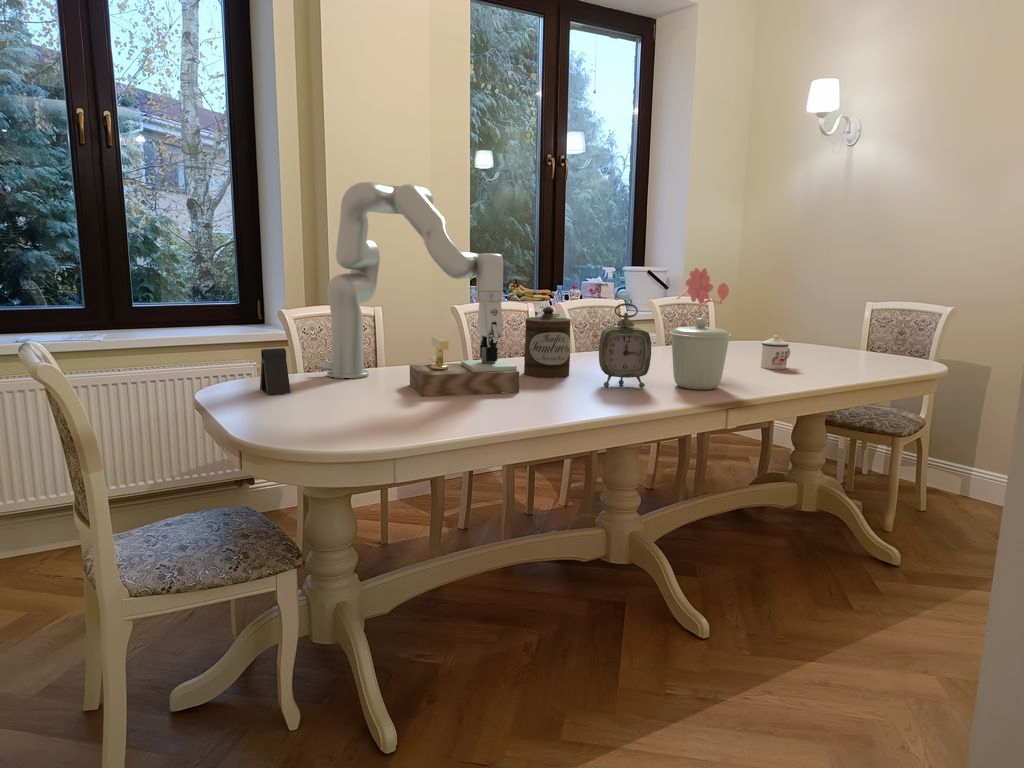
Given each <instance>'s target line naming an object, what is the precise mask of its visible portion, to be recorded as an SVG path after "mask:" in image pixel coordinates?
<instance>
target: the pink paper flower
mask: <svg viewBox="0 0 1024 768" xmlns="http://www.w3.org/2000/svg"><path fill="white" fill-rule="evenodd" d="M689 276H690V277H689V278H688V279H687V280H685V285H686V286H687V288H686V289H685V290H683V292H681V293H680V294H679V295H678V297H677V298H676V300H679V299H680V298H681V297H683V296H684V295H685V294H686V293H687V294H688V295H690V300H691V302H692V303H694V302H696V301H698V304H699V306H698V308H697V310H698V311H697V312H698V315H699V316H698V317H699V318H702V315H701V311H700V308H702V307H703V306H705V305H707V303H710V302H711V303H715V304H719V305H722V304H723V301H725V299H726V298H727V297H728V295H729V292H730V288H729V286H728V285H727V284H726V283H725V282H721V283H720V285H719V286H718V287H717V295H718V297H719V298H720V301H717V300H712V299H711V298H710V297H709V295H710V294H709V293H710V292H712V290H713V288H714V285H713V284H712V283H710V278H711V277H710V276H709V275H708V270H707V268H705V267H704V268H703V269H702V270H701V271H700V269H699V268H697V267H695V268H694V270H691V271H689ZM705 327H707V325H706V326H705Z"/></svg>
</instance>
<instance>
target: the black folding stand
mask: <svg viewBox="0 0 1024 768" xmlns="http://www.w3.org/2000/svg"><path fill="white" fill-rule="evenodd" d="M260 350H261V351H260V353H261V354H260V356H261V365H260V379H259V380H260V383H259V390H260V391H261V390H262V391H263V392H262V391H261V392H262V393H264V394H265V393H266V394H265V395H267V396H268V395H270V396H276V395H275V394H281V395H286V394H285V393H291V385H290V384H291V383H290V379H289V378H290V376H289V371H288V362H287V350H286V348H285V347H282V348H281V347H280V348H279V347H278V348H263V349H260Z"/></svg>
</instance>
